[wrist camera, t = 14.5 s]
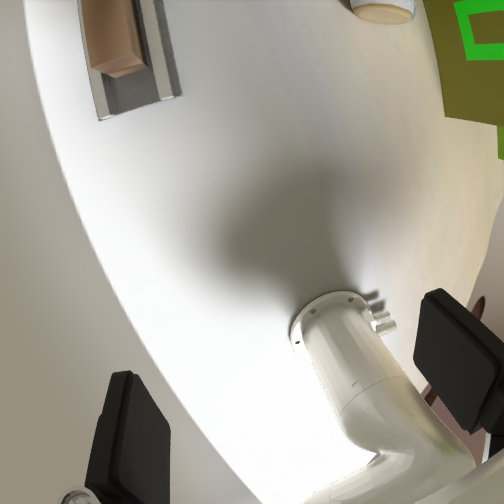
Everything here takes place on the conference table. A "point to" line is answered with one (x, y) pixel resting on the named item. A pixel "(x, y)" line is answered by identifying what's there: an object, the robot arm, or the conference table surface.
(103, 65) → the door panel
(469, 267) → the conference table surface
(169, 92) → the floor track
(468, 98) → the ammo box
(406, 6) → the ceramic mug
